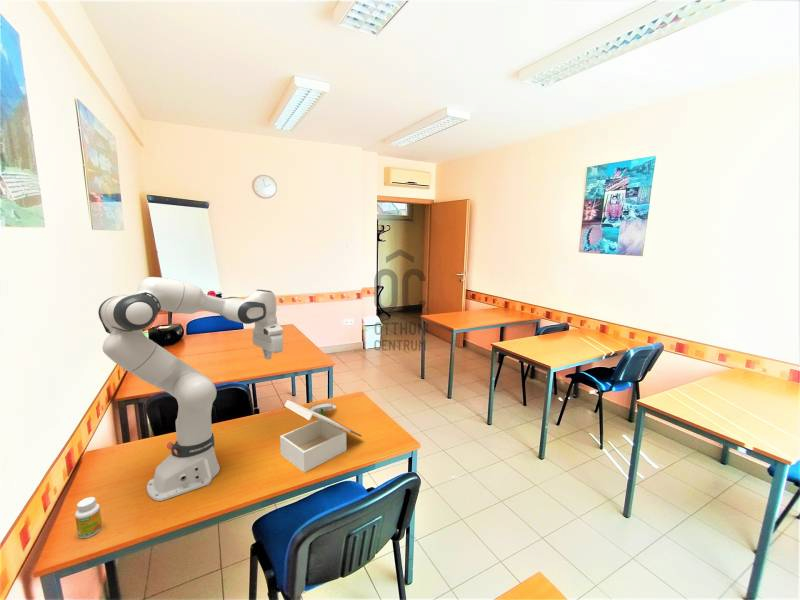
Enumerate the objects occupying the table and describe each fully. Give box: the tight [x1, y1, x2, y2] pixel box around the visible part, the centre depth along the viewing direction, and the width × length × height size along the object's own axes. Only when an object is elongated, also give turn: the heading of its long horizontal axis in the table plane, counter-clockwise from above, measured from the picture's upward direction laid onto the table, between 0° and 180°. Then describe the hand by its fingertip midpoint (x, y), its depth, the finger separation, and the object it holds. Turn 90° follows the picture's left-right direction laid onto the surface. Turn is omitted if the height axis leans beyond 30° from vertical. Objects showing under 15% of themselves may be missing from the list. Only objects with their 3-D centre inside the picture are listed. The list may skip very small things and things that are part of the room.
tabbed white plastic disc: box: [308, 402, 337, 416], centre depth 175 cm, size 15×8×11 cm
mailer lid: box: [284, 399, 362, 437], centre depth 147 cm, size 30×17×3 cm
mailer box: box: [279, 419, 348, 473], centre depth 144 cm, size 20×17×8 cm
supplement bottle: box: [74, 496, 103, 539], centre depth 104 cm, size 5×5×10 cm
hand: (267, 358), depth 153 cm, fingers closed
